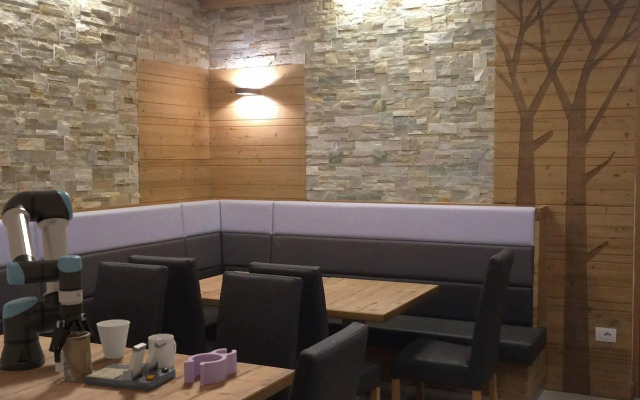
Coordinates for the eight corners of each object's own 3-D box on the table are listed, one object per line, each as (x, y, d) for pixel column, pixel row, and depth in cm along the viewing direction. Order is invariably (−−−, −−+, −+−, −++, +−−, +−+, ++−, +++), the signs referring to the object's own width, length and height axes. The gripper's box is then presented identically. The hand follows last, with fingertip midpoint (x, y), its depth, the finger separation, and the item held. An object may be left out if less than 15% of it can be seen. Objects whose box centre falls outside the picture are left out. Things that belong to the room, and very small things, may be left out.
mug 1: (77, 384, 237) (75, 338, 236) (49, 379, 243) (47, 334, 242) (97, 376, 245) (96, 332, 244) (70, 371, 251) (68, 328, 250)
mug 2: (185, 363, 259) (185, 333, 259) (163, 372, 249) (162, 340, 248) (167, 360, 264) (166, 330, 263) (143, 368, 253) (142, 338, 253)
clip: (216, 366, 255) (216, 347, 255) (245, 371, 249) (245, 351, 249) (178, 382, 238) (177, 361, 238) (208, 387, 232) (208, 365, 231)
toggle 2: (141, 368, 241) (154, 342, 239) (149, 364, 246) (163, 338, 244) (146, 372, 241) (159, 345, 239) (154, 368, 246) (167, 342, 243)
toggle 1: (126, 377, 233) (132, 346, 231) (134, 373, 238) (141, 342, 236) (131, 379, 232) (138, 348, 231) (140, 375, 237) (147, 344, 235)
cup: (91, 357, 270) (90, 323, 269) (118, 350, 279) (117, 318, 278) (109, 362, 262) (108, 328, 261) (137, 355, 271) (136, 322, 270)
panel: (84, 384, 237) (83, 367, 236) (114, 370, 252) (114, 354, 252) (148, 390, 229) (148, 373, 228) (176, 375, 244) (176, 359, 244)
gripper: (55, 310, 230) (57, 377, 231) (103, 296, 253) (105, 357, 254) (35, 309, 232) (37, 375, 233) (85, 295, 256) (87, 355, 257)
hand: (73, 366), depth 244 cm, fingers open, 13 cm apart
